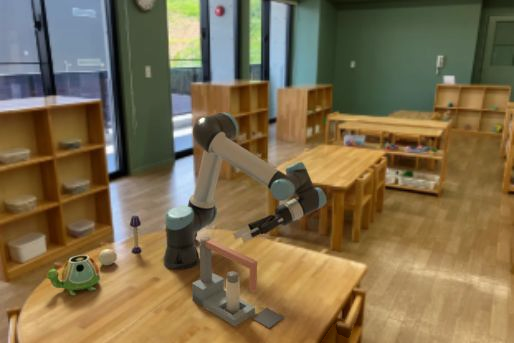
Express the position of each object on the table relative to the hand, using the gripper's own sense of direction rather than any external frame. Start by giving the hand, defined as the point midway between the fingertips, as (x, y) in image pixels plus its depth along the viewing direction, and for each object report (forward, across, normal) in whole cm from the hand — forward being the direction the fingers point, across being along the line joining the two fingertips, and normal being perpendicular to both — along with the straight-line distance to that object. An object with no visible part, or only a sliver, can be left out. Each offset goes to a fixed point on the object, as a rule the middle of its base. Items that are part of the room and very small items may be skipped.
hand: (238, 237), depth 151 cm
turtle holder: (+60, +26, +6) cm, 66 cm away
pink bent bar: (+10, -5, -9) cm, 14 cm away
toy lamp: (+36, +50, +7) cm, 62 cm away
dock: (+15, +2, -20) cm, 25 cm away
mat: (+4, -8, -28) cm, 29 cm away
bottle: (+13, -2, -22) cm, 26 cm away
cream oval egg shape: (+48, +41, +8) cm, 64 cm away
